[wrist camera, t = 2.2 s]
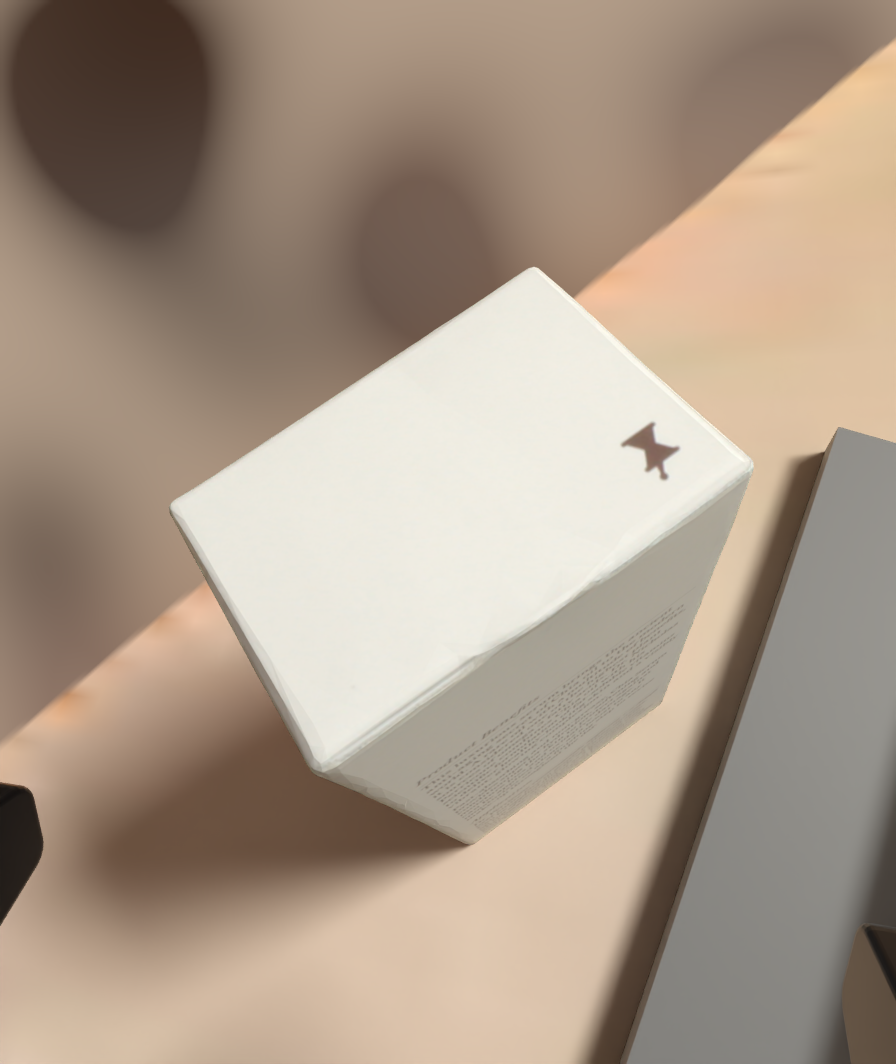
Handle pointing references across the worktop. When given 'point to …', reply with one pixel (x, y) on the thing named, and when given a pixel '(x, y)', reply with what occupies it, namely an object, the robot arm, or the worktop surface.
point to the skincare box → (472, 557)
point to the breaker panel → (794, 802)
